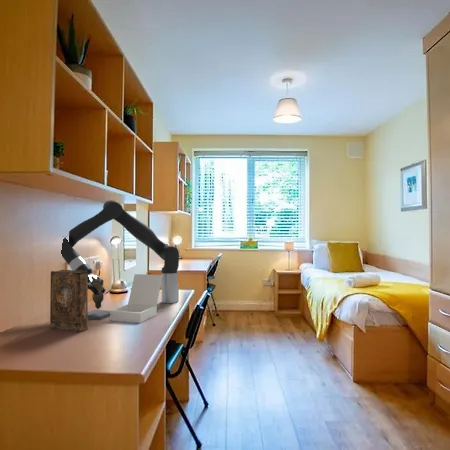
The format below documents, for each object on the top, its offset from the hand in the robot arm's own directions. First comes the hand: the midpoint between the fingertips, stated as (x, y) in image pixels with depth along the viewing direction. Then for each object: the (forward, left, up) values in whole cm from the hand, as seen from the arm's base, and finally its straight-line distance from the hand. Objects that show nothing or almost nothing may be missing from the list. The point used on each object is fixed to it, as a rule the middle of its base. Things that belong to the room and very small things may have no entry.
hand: (100, 292), depth 179 cm
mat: (+1, -2, -12) cm, 12 cm away
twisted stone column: (+1, -2, -8) cm, 8 cm away
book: (+21, +11, -12) cm, 26 cm away
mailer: (-12, +13, -12) cm, 22 cm away
